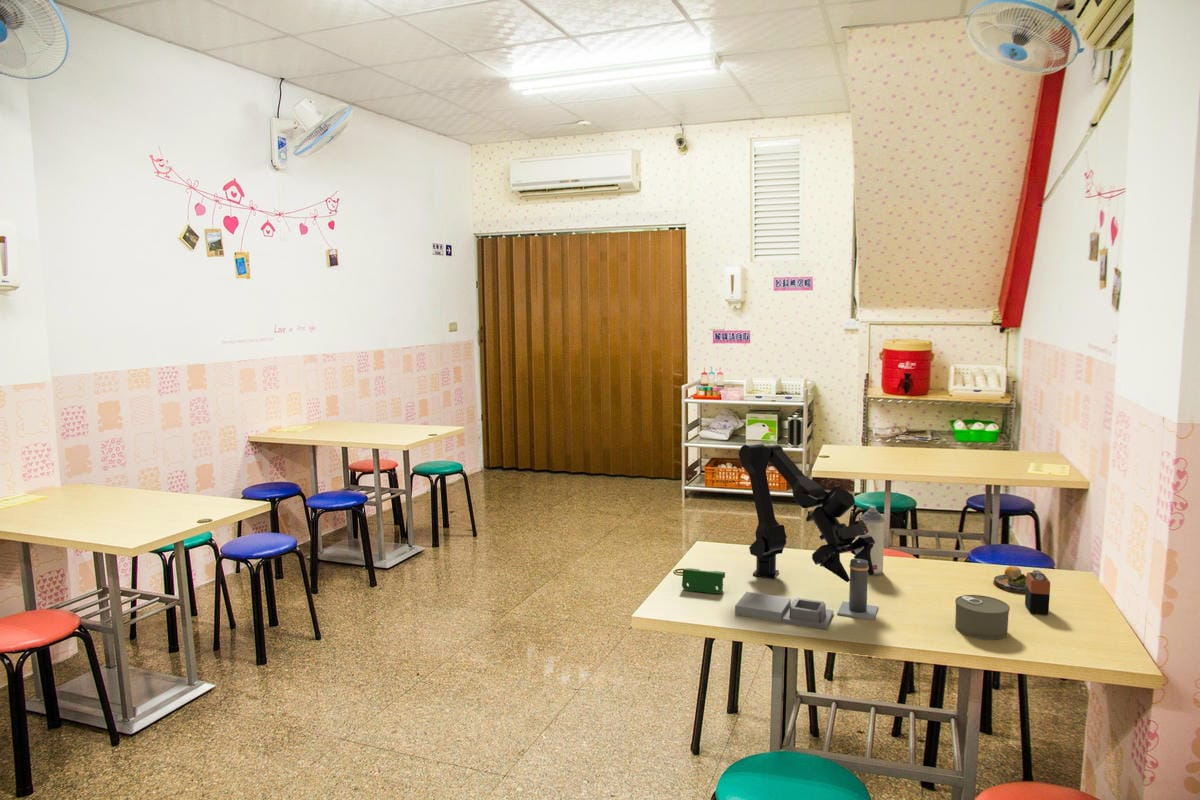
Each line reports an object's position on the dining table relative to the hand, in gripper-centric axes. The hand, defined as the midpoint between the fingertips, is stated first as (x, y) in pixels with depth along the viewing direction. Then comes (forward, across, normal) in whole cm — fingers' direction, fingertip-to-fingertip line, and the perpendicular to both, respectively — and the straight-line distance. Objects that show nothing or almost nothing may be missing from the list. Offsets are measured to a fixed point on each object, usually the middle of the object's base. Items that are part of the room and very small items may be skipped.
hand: (860, 578), depth 205 cm
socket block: (0, -18, +13) cm, 22 cm away
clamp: (-18, -23, +32) cm, 43 cm away
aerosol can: (-7, +28, +21) cm, 36 cm away
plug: (+6, 0, +7) cm, 9 cm away
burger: (+14, +53, -1) cm, 55 cm away
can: (+23, +16, -10) cm, 30 cm away
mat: (+6, 0, +7) cm, 9 cm away
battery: (+23, +40, -10) cm, 47 cm away
